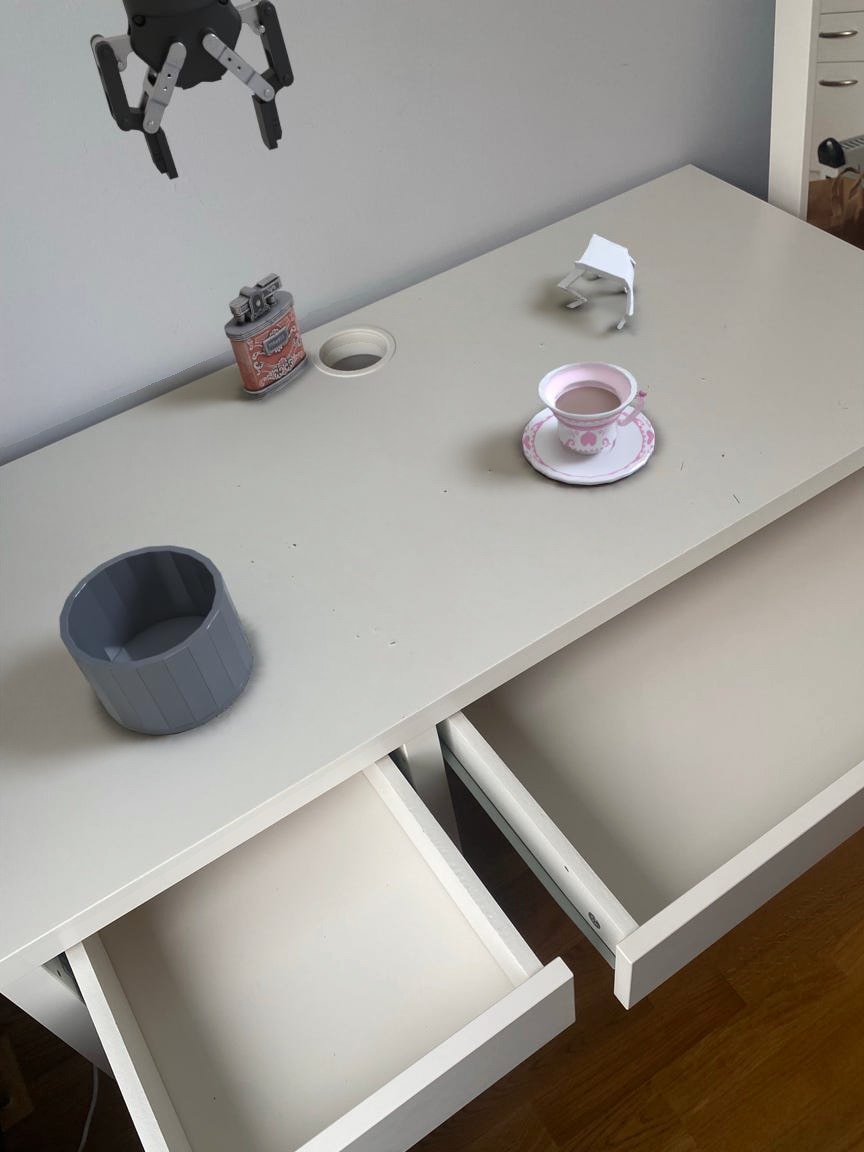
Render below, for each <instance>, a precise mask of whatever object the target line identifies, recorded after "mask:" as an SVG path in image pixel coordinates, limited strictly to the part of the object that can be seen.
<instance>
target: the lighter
mask: <svg viewBox="0 0 864 1152" xmlns="http://www.w3.org/2000/svg"><path fill="white" fill-rule="evenodd" d="M281 279H282V278H281V276H280V275H279V274H278V273H275V272H271V273H269V274H268V275H265V276H264V277H263V278H261V279H260V280H259V281H257V282H256V284H255V285H253V286H252V287H251V286H248V285H244V286H243V287H241V288H240V290H239V292H238V296H236V298H234V299H232V300H231V301H230V302H228V307H229V311H230V313H231V315H232V316H233V317H232V318H231V319H230V320H229V321H227V323H226V324H224V326H223V329H224V332H225V335H226V336H225V337H226V338H227V339H229V342H230V345H231V348H232V350H233V355H234V357H235V360H236V364H237V366H238V370H239V373H240V376H241V379H242V383H243V384H242V388H243V392H244V394H245V395H244V396H245V397H246V398H248V399H250V400H253V401H254V400H255V401H257V400H264V399H265V398H267V397H269V396H270V395H273V394H274V393H276V392H278V391H279V390H281V389H282V388H283V387H285V386H287V385H289V384H290V383H291V382H292V381H293V380H294V379H296V377H298V376H299V375H300V374H301V373H302V372H303V371H304V370H305V369H306V368H307V367H308V366H309V365H310V360H309V356H308V353H307V352H306V351H305V348H304V342H303V339H302V336H301V332H300V329H299V327H300V326H299V323H298V320H297V316H296V312H295V307H294V305H295V301H294V296H293V294H292V293H291V292H290V291H286V290H280V289H282V288H283V282H282V280H281Z"/></svg>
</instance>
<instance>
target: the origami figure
mask: <svg viewBox="0 0 864 1152" xmlns="http://www.w3.org/2000/svg"><path fill="white" fill-rule="evenodd" d="M573 264H574V267H575V269H573V270H572V271H571V272H570V273H569V274H567V275H566V276H565V277H564V278H563V279H562V280H561V281H559V283H558V284H556V287H557V288H560V289H562V290H563V291H565V292H567V293H569V294H571V295H572V296H574V297H576V298H577V299H578V300H575V301H574V302H571V303H569V304H567V305H566V307H567V308H570V309H574V308H576V307H578V306H580V305H582V304H584V303H586V302H588V299H587V298H585V297H584V296H583V295H581V294H580V293H579V292H577V291H576V290H574V288H572V287H570V286H571V285H572V284H573V283H575V282H576V281H577V280H578V279H580V278H581V277H582V276H583V275H584V274H586V273H587V272H589V273H591V274H594V275H596V276H597V277H598V278H605V279H607V280H610V281H612V282H614V283H618V284H620V285H621V288H622V291H623V292H624V293H626V294H627V296H626V297H627V299H626V308H625V309H626V310H625V312H626V313H625V314H624V316H623V318H622V319H621V320H620V322H618V325H617V326H616V329H618V330H621V329H623V327H624V326H625V323H626V322H627V320H628V318H630V317H631V316H632V315H634V278H635V268H636V266H637V263H636V261H635V260H634V259H633V258H632V257H631V255H630V254H629V249H628V247H625V246H622V245H620V244H617V243H615V242H612V241H611V240H608V239H606V238H604V237H601V236H599V235H598V234H596V233H593V234H592V237H591V239H590V241H589V244H588V246H587V248H586V250H585V251H584V253H583V254H582V256H581V258H580V259H579V260H575V261H573ZM626 287H627V288H626Z"/></svg>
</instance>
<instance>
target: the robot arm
mask: <svg viewBox="0 0 864 1152" xmlns="http://www.w3.org/2000/svg"><path fill="white" fill-rule="evenodd" d="M121 1H122V4H123V8H124V10H125V14H126V17H127V31H126V33H125V34H120V35H115V36H108V37H105V36H104V35H102V34H99V33H96V34H92V36H91V38H90V40H89V44H90V48H91V51H92V55H93V58H94V60H95V65H96V68H97V72H98V75H99V78H100V81H101V86H102V89H103V93H104V96H105V99H106V102H107V106H108V108H109V113H110V116H111V117H112V119H113V120H114V121H115V123H116V125H117V127H118V128H119V130H121V131H123V132H130V131H139V132H141V133H142V134H143V136H144V141H145V142H146V146H147V149H148V152H149V155H150V157H151V161H152V163H153V165H154V166H155V168H156V169H157V170H158V171H159V173H160V174H161V175H163V174H165V175H166V176H167V177H168V179H169V180H170V181H171V180H174V179H177V178H178V179H179V173H178V170H177V166H176V163H175V160H174V158H173V155H172V152H171V149H170V148H171V147H170V145H169V142H168V139H167V136H166V132H165V130H164V129H163V127H162V126H161V123H162V120H163V116H164V113H165V110H166V108H167V107H168V106H169V105H170V103H171V99H172V96H173V93H174V90H175V88H179V89H180V88H181V89H182V91H186V90H189V89H192V88H194V87H196V86H197V85H200V84H201V83H215V82H219V81H221V80H223V78H222V77H223V76H224V75H226V74H227V72H228V71H229V72H230V73H232V74H233V76H235V77H236V78H237V79H238V80H240V82H242V83H243V84H244V85H245V86H247V87H248V88H249V89H250V90H251V91H252V92H253V94H251V100H252V104H253V107H254V111H255V116H256V120H257V124H258V128H259V132H260V136H261V140H262V142H263V144H264V146H265V147H266V148H267V149H268V150H269V151H273V150H275V149H278V148H279V144H278V141H280V140H282V138H283V130H282V125H281V120H280V117H279V112H278V108H277V103H276V96H277V94H278V93H279V91H281V90H282V89H283V88H285V87H286V88H287V87H290V86H292V85H293V84H294V80H295V76H294V72H293V69H292V65H291V61H290V58H289V54H288V50H287V47H286V42H285V38H284V35H283V31H282V28H281V24H280V21H279V17H278V13H277V9H276V7H275V5H274V4H273V3H272V2H271V1H270V0H250V1H247V2H245V3H242V4H239V5H236V6H235V5H234V4H233V2H232V0H121ZM243 24H246V25H248V27H249V29H250V30H251V32H253V33H254V34H255V35H256V36H259V37H260V41H261V45H262V48H263V52H264V55H265V58H266V62H267V65H268V68H267V69H265V71H263V72H262V73H259V72H258V71H257V70H255V68H254V67H252V65H250V64H249V63H248V62H247V61H246V60H245V59H243V57H242V56H241V55H239V54H238V52H236V51H235V49H236V48H237V47H236V46H237V44H238V40H239V38H240V35H241V32H242V28H243V27H242V26H243ZM131 53H134V54H135V55H136V56H137V57H138V58H139V59H140V60H141V61H142V62H144V63H145V64H146V65H147V68H146V71H145V75H144V78H143V81H142V91H141V95H140V97H139V101H138V104H137V107H133V106H130V104H129V101H128V97H127V94H126V90H125V88H124V87H125V86H124V83H123V79H122V76H121V73H122V72H124V71H125V70H126V69H127V66H128V61H127V58H128V56H129V55H130V54H131Z"/></svg>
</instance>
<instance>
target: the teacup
mask: <svg viewBox="0 0 864 1152" xmlns="http://www.w3.org/2000/svg"><path fill="white" fill-rule="evenodd" d="M537 392H538V396H539V398H540V400H541V401H542V403H544V405H545V406H546V407H544V409H542V410H541V411H539V412H538V413H536V414H535V415H534V416H532V418H531V420H530V421H529V422H528V423H527V425H526V426H525V427H524V430H523V435H522V439H521V447H522V449H523V454H524V457H525V458H526V459H527V461H528V463H530V465H531V466H532V467H533V468H534V469H535V470H536V471H538V472H539V473H541V474H543V475H545V476H546V477H548V478H550V479H553V480H556V481H559V482H563V483H565V484H570V485H571V484H572V485H586V486H593V485H600V484H606V483H607V484H608V483H613V482H615V481H618V480H621V479H623V478H626V477H628V476H631V475H633V474H634V473H635V472H636V471H638V470H639V469H640V468H642V467H643V466H645V465H646V463H647V462H648V460H649V459H650V458H651V456H652V454H653V453H654V451H655V443H656V434H655V433H656V432H655V431H654V428H653V425H652V422H651V420H649V419H648V418H647V417H646V416H645V415H644V414H643V413H642V412H641V411H642V409H643V407H644V405H645V401H644V398H645V397H647V396H648V393H647V391H643V389H641V390H639V391H638V383H637V379H636V378H635V377H634V375H633V374H632V373H631V372H629V371H628V370H627V369H625V368H623V367H621V366H619V365H616V364H613V363H608V362H603V361H579V362H578V361H577V362H572V363H567V364H565V365H562V366H559V367H557V368H555V369H553V370H551V371H550V372H548V373H547V374H546V375H544V376H543V377H542V379H541V381H540V382H539V384H538V391H537ZM633 400H638V403H637V404H636V407H635V408H634V407H633V406H631V405H629V404H630V403H631V402H632V401H633Z"/></svg>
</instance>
